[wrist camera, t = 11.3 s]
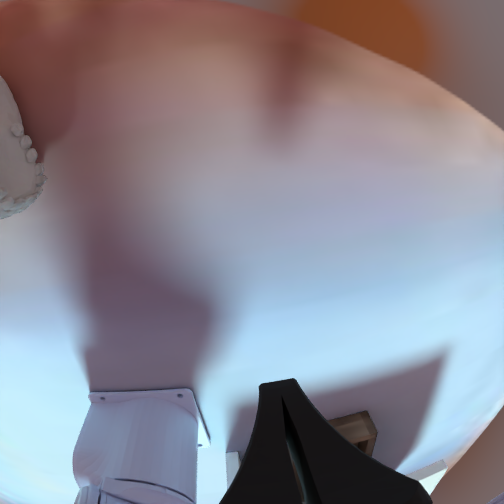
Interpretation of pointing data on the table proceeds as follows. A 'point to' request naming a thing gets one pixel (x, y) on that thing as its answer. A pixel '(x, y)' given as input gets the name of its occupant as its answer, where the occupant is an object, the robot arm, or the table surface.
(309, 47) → the table surface
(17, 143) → the grey rounded lump
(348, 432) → the walnut tray
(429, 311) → the table surface
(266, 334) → the table surface
